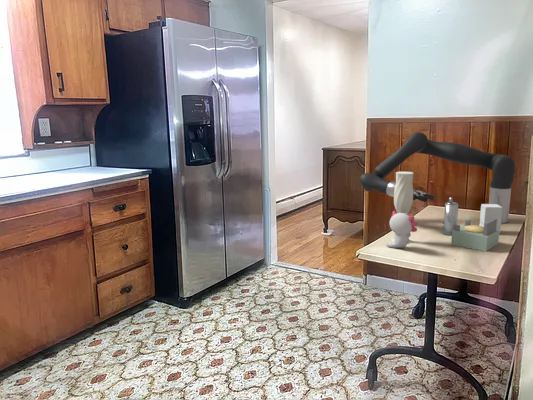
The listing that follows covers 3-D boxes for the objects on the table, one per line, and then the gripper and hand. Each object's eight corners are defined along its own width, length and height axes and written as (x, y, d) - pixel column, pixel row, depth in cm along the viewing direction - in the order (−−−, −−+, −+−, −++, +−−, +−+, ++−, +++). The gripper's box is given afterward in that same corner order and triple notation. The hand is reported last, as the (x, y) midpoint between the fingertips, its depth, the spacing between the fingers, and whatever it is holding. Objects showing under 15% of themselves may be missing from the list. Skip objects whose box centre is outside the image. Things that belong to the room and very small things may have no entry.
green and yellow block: (464, 237, 196) (466, 213, 194) (498, 243, 187) (500, 218, 184) (451, 244, 187) (452, 219, 184) (485, 251, 177) (488, 224, 175)
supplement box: (500, 234, 200) (503, 207, 197) (482, 234, 201) (485, 206, 198) (495, 230, 207) (498, 203, 204) (478, 229, 208) (480, 203, 206)
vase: (388, 238, 197) (391, 171, 191) (406, 237, 198) (409, 171, 192) (395, 244, 188) (398, 174, 182) (414, 243, 189) (418, 173, 183)
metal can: (446, 231, 206) (448, 195, 202) (458, 233, 202) (461, 196, 198) (441, 234, 202) (443, 197, 198) (453, 236, 198) (455, 198, 195)
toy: (420, 251, 179) (422, 215, 176) (406, 254, 175) (407, 217, 172) (395, 242, 190) (396, 208, 187) (381, 245, 187) (382, 211, 184)
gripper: (393, 183, 208) (426, 192, 198) (405, 181, 219) (438, 189, 209) (389, 199, 210) (422, 208, 200) (402, 196, 221) (434, 205, 211)
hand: (430, 198), depth 205 cm, fingers open, 8 cm apart
